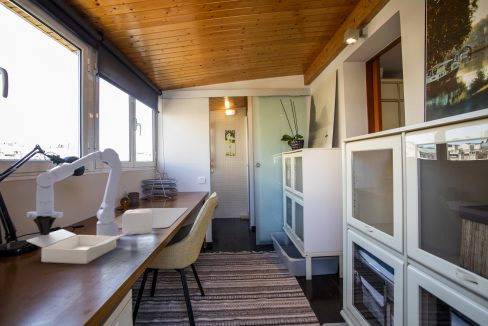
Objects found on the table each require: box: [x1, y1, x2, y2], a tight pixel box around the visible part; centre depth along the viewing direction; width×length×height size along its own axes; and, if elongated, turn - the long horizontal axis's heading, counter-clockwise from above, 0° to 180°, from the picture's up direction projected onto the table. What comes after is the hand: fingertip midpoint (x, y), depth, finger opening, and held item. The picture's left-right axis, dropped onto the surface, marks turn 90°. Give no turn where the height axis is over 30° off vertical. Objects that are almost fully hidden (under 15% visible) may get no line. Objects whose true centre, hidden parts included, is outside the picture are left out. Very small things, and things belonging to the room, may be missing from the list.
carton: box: [40, 234, 117, 265], centre depth 100 cm, size 18×18×5 cm
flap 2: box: [89, 232, 131, 249], centre depth 99 cm, size 16×7×1 cm, turn 174°
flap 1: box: [26, 228, 77, 249], centre depth 101 cm, size 16×7×1 cm, turn 174°
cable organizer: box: [121, 208, 154, 236], centre depth 133 cm, size 15×11×12 cm
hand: (44, 234), depth 102 cm, fingers closed
